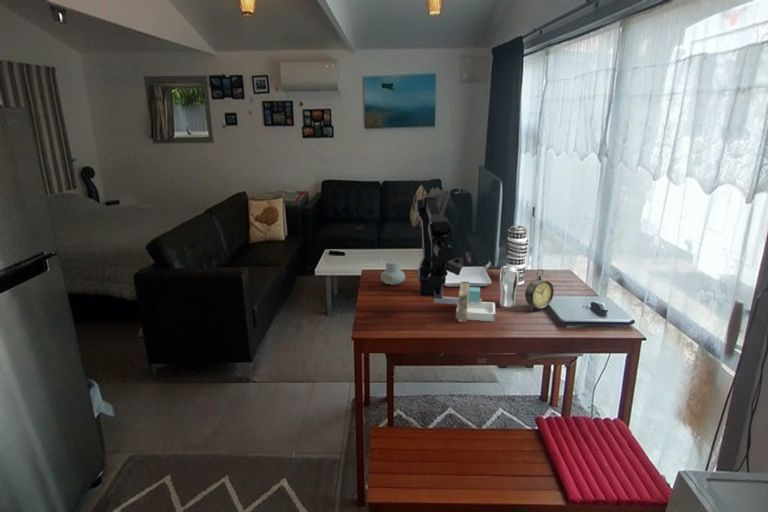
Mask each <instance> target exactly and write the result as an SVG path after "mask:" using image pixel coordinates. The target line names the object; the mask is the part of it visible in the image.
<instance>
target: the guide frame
mask: <svg viewBox="0 0 768 512" xmlns="http://www.w3.org/2000/svg"><path fill="white" fill-rule="evenodd" d="M458 292H459V293H458V297H459V311H458V319H457V322H458V323H467V321H468V320H467V303H468V298H469V282H461V286H460V287H459V291H458Z"/></svg>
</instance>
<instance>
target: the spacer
mask: <svg viewBox="0 0 768 512" xmlns="http://www.w3.org/2000/svg"><path fill="white" fill-rule="evenodd" d="M480 299H481V287H469V301H475V302H480Z"/></svg>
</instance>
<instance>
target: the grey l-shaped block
mask: <svg viewBox="0 0 768 512" xmlns="http://www.w3.org/2000/svg"><path fill="white" fill-rule="evenodd" d="M443 294H444V285H443V284H442V286H441V290H440V295H436V293H435V291H434V296H433V303H434V304H445V305H446V304H447V305H457V304H459V296H458V297H456V296H443ZM482 300H483V299H482V298H480V302H475V301H469V298H468V303H467V305H475V306H481V304H482V302H483V301H482Z"/></svg>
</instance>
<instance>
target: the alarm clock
mask: <svg viewBox="0 0 768 512" xmlns="http://www.w3.org/2000/svg"><path fill="white" fill-rule="evenodd" d="M540 270H541V271H542V273H541V275H539V274H538V273H539V271H540ZM543 275H544V270H543V268H539V269H538V270H537V272H536V277H537V278H534V279H533V280H531V281H529V283H528V284H527V286H526V289H525V293H524V296H525V297H524V298H525V301H526V303H527V304H528V305H529V306H531V309H530V311H529V312H530V313H533V310H534V308H535V309H539V310H541V309H544V308H546V307H547V305H548V306H549V304H551V302H552V300H553V298H554V293H555V291H554V290H555V289H554V286H553V284H552V283H551V281H549V280H546V279H543V278H542V276H543Z"/></svg>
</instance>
